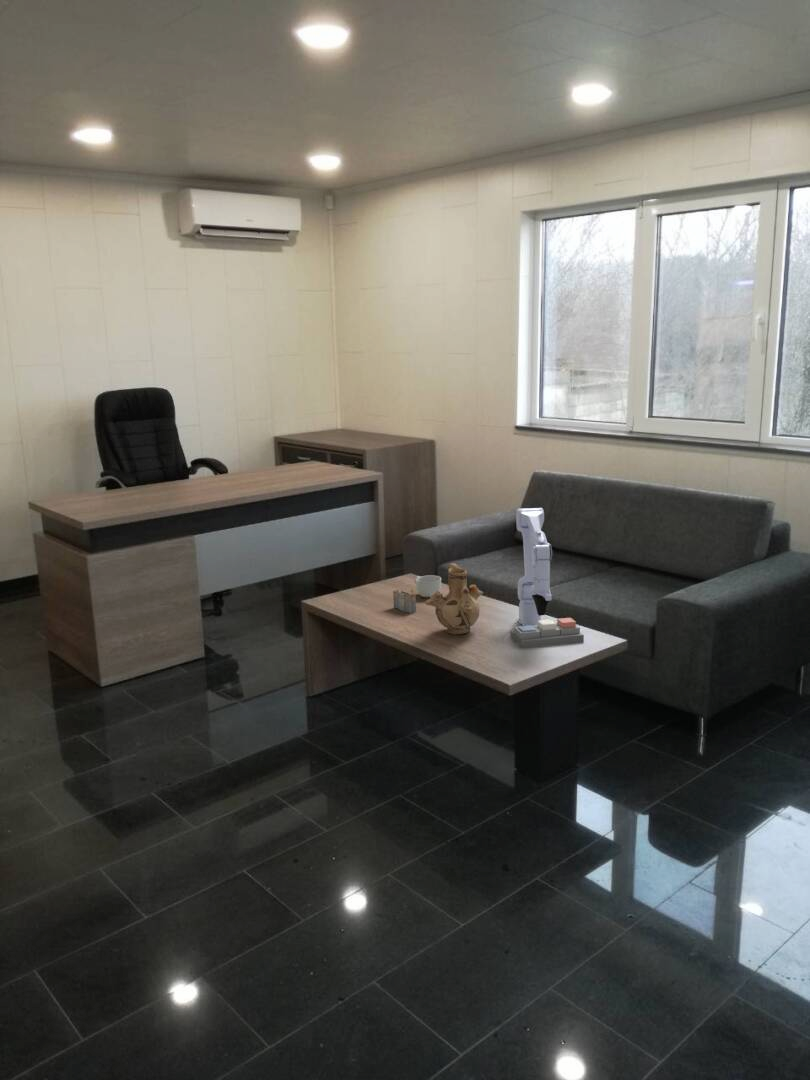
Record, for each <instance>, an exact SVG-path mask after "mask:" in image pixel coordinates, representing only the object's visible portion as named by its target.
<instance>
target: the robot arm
mask: <svg viewBox="0 0 810 1080" xmlns="http://www.w3.org/2000/svg"><path fill="white" fill-rule="evenodd" d="M515 511H516V512H515V521H516V529H517V531H518V532H520V533H521V536H522V543H523V544H522V545H523V546H522V547H523V562H524V563H523V565H524V575H523V576H522V577H520V578H519V580H518V582H517V598H518V600H519V604H518V618H517V619H516V621H517V622H518V623H519V624H521V626H529V625H531V626H534V625H538V621H540V620H542V616H545V614H546V612H547V607H548V605H549V603H550V602H551V601H552V598H553V595H552V594H551V590H550V584H551V583H550V582H551V581H550V579H551V577H550V575H551V571H550V570H551V561H552V557H553V549H552V544H551V543H549V542H548V540H547V536H546V534H545V532H544V531H542V528H543V525H544V522H545V512H544V509H543V508H542V507H532V508H530V507H529V508H528V507H527V508H519V507H518V508H517V509H516V510H515Z"/></svg>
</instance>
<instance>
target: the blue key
mask: <svg viewBox="0 0 810 1080" xmlns="http://www.w3.org/2000/svg"><path fill="white" fill-rule="evenodd" d="M517 627H518V629H519V630H520V631H521V632H532V631H536V629H535V628H534V627H533V626H531V625H529V626H523V625H520V626H517Z"/></svg>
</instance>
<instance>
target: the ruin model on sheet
mask: <svg viewBox="0 0 810 1080" xmlns="http://www.w3.org/2000/svg"><path fill="white" fill-rule="evenodd" d="M416 592H417V589H413V588H412V589H411V590H410V593H409V592H407V591H404V590H400V589H395V590H392V593H393V599H392V600H393V608H394V607H395V608H394V609H396V608H398V609H397V610H399V609H400V610H399V611H402V610H403V611H402V612H405V611H406V612H405V613H407V612H409V613H408V614H410V613H412V614H415V613H414V612H416V613H417V595H416V594H415V593H416Z"/></svg>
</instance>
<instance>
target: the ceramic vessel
mask: <svg viewBox="0 0 810 1080" xmlns="http://www.w3.org/2000/svg"><path fill="white" fill-rule="evenodd" d="M467 576H468V571H467V569H466V568H463V567H460V566H458V564H456V563H453V562H452V563H450V564H449V566H448V569H447V577H448V578H447V581H448V583H447V584H448V590H449V591H448V593H447V594H446V595H445V596H443V594H442V593H441V592H438V591H436V592H435V594H434V595H433V596H432V597H431V598H428V599H427V600H426V601H425V602H424V605H426V606H431V607H435V617H436V618H437V620H438V621H439V624H440V625H442V627H445V628H447V629H446V632H447V633H448V634H450V635H462V634H463V635H464V634H466V633H469V632H470V631H471V627H473V625H475V623H476V622H477V620H478V619H479V617H480V610H481V609H480V605H479V602H478V598H479V597H481V596H482V595H484V592H483V591H482V590H481V589H479V588H478V587H477V585H476V584H470V585H469V587H468V583H467V579H468V577H467Z"/></svg>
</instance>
